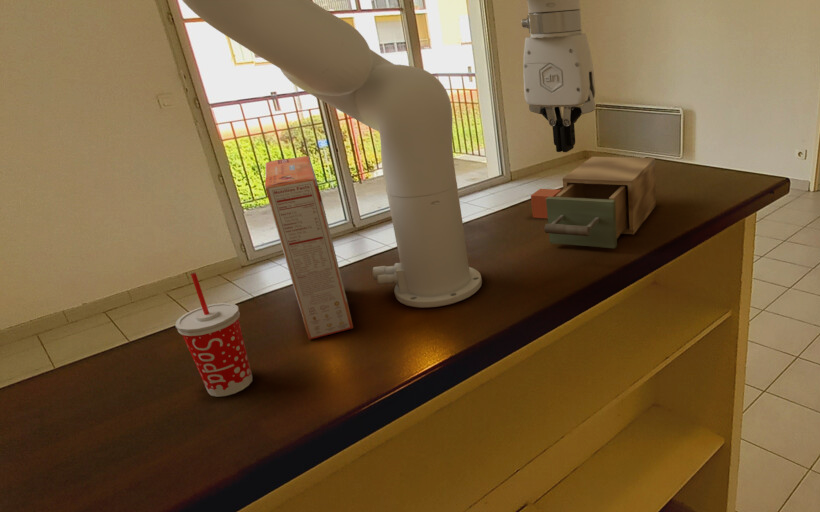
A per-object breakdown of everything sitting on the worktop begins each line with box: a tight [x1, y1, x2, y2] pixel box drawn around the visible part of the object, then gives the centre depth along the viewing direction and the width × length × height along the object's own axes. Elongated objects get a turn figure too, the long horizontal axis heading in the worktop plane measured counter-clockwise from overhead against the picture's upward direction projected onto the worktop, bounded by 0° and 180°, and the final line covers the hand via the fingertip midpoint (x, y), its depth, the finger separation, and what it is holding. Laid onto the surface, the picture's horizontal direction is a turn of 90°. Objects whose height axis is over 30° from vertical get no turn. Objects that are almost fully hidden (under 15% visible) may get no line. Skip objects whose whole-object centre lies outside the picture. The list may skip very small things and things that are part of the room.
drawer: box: [544, 183, 629, 249], centre depth 102 cm, size 21×11×8 cm, turn 159°
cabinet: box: [562, 156, 657, 235], centre depth 113 cm, size 16×13×10 cm
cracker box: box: [264, 155, 354, 340], centre depth 81 cm, size 14×6×21 cm, turn 25°
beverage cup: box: [174, 272, 253, 398], centre depth 67 cm, size 6×6×14 cm
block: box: [530, 188, 562, 220], centre depth 118 cm, size 4×4×4 cm
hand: (565, 149), depth 95 cm, fingers closed
